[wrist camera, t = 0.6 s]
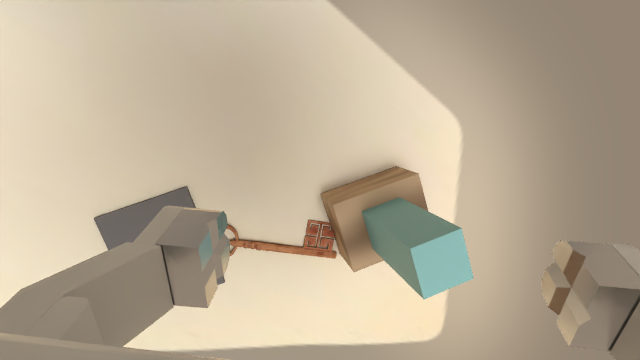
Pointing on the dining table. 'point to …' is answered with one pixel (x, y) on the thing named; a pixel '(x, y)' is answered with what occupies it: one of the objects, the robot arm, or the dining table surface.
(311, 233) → the key
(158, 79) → the dining table surface
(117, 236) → the mat
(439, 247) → the tall teal pillar
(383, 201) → the block
